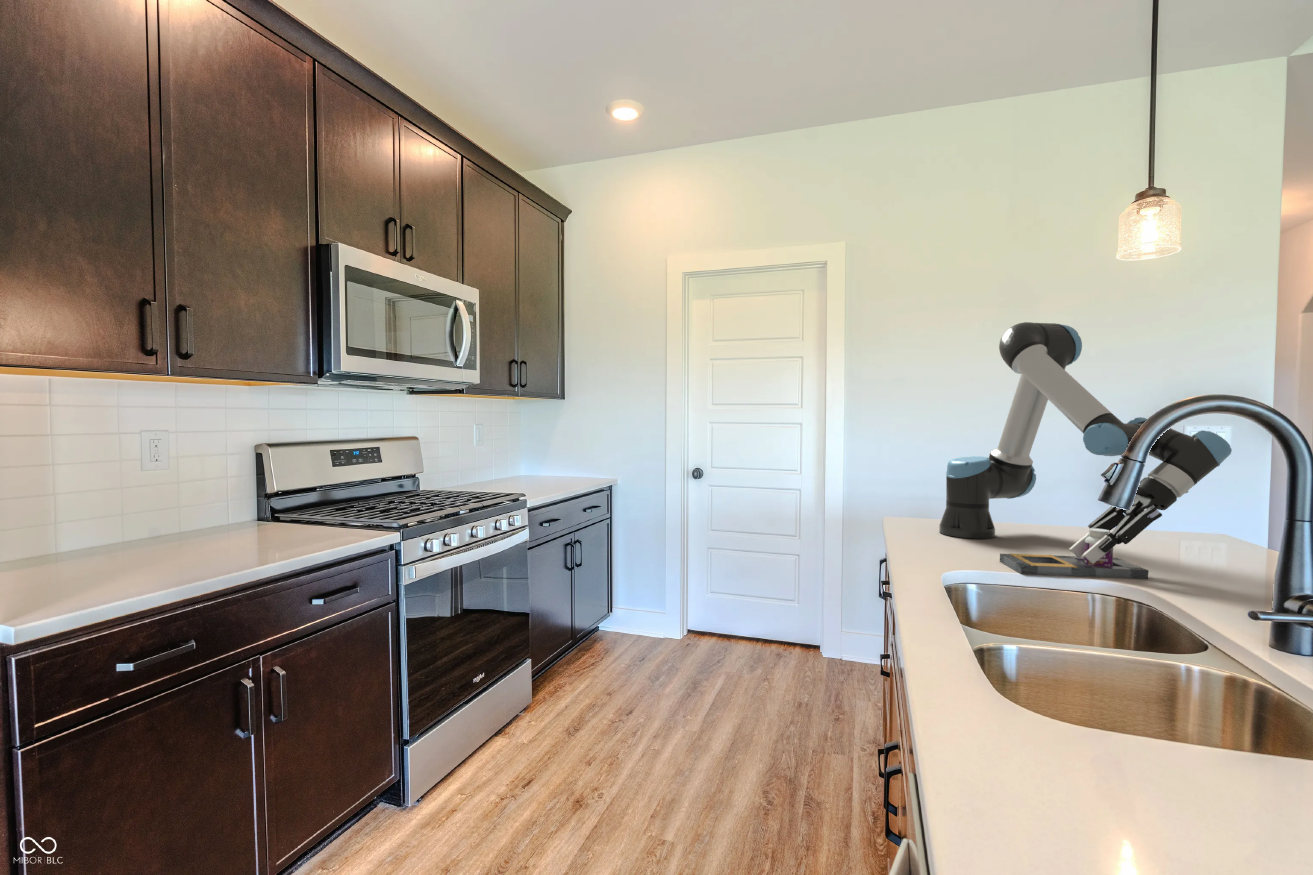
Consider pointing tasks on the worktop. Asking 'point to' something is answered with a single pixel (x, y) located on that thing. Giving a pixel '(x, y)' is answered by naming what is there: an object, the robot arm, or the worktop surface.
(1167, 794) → the worktop surface
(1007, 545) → the worktop surface
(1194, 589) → the worktop surface
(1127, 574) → the rail plate
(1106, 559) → the pill bottle
